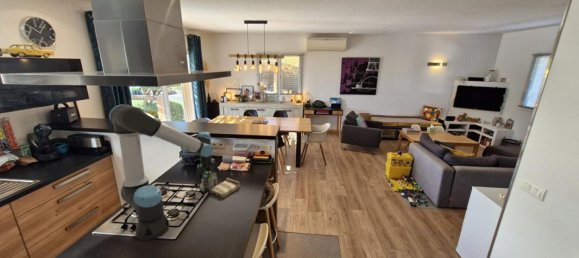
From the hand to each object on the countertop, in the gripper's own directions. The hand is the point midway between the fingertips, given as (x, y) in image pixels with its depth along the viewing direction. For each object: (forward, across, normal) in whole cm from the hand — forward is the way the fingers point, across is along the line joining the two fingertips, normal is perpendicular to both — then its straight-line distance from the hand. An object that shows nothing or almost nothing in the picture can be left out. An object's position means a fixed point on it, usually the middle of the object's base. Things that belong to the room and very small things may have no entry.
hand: (208, 184), depth 160 cm
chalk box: (+4, 0, 0) cm, 4 cm away
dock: (+4, +5, -12) cm, 13 cm away
